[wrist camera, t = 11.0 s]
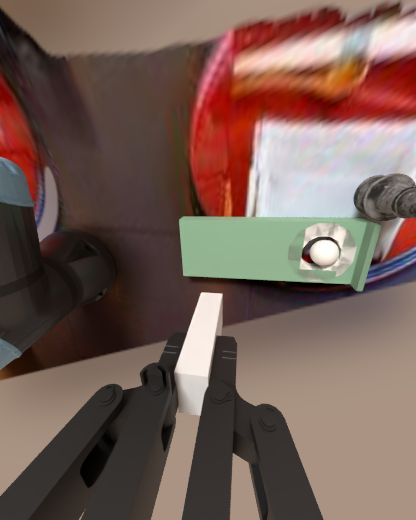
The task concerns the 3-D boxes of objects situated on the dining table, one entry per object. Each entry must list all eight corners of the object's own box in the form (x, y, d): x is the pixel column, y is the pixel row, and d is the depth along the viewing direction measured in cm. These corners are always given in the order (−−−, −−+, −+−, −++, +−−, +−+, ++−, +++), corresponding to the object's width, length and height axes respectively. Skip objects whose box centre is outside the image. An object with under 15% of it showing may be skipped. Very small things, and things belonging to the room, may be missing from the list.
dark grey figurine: (395, 211, 31) (477, 235, 20) (350, 218, 32) (404, 244, 22) (400, 168, 29) (494, 169, 18) (352, 178, 30) (412, 183, 19)
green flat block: (186, 269, 40) (180, 281, 36) (183, 216, 36) (175, 222, 32) (348, 277, 36) (362, 291, 32) (364, 217, 32) (381, 225, 28)
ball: (318, 270, 32) (342, 268, 32) (323, 244, 30) (348, 242, 31) (302, 261, 35) (324, 259, 36) (306, 237, 34) (329, 236, 34)
